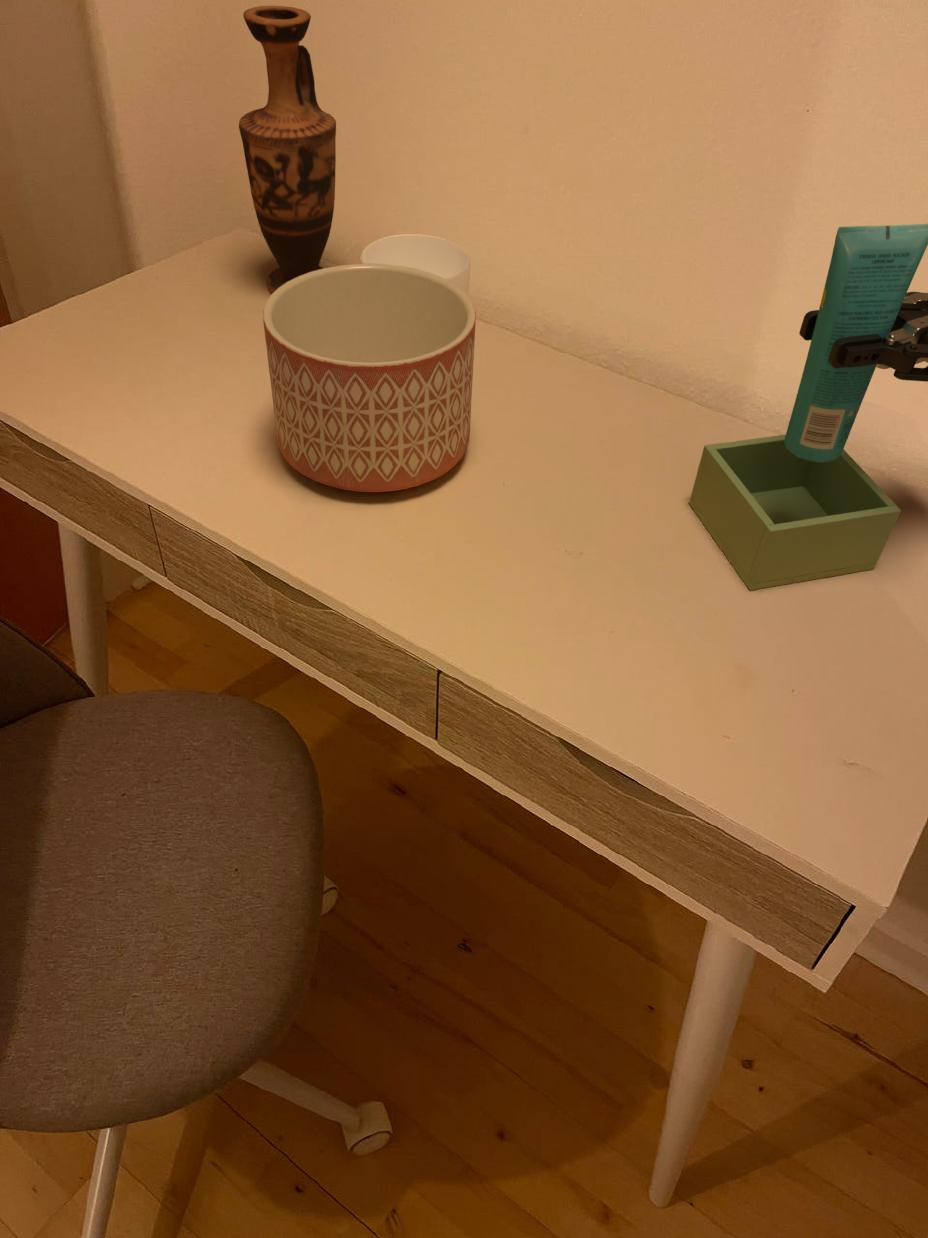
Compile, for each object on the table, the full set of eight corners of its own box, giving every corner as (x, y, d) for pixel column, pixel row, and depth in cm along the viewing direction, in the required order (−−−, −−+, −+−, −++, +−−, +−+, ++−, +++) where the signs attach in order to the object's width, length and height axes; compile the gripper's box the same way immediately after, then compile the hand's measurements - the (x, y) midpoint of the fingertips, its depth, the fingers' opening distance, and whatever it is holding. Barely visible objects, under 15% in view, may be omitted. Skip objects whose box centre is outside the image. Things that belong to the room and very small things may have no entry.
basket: (874, 569, 85) (901, 510, 81) (749, 590, 83) (770, 531, 78) (803, 486, 94) (824, 428, 89) (688, 503, 91) (704, 444, 86)
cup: (470, 338, 112) (475, 238, 104) (459, 390, 104) (464, 286, 95) (373, 329, 113) (370, 229, 104) (354, 380, 104) (350, 276, 96)
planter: (241, 469, 92) (219, 329, 82) (340, 378, 105) (332, 247, 94) (415, 527, 87) (416, 386, 76) (498, 424, 99) (508, 291, 89)
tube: (835, 426, 84) (915, 208, 70) (864, 458, 80) (954, 235, 67) (759, 436, 82) (825, 215, 69) (785, 469, 79) (860, 244, 65)
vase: (308, 315, 114) (286, 32, 93) (240, 291, 118) (203, 13, 97) (361, 282, 121) (351, 11, 100) (294, 260, 125) (271, -6, 103)
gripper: (969, 235, 79) (786, 253, 75) (1089, 316, 69) (886, 340, 66) (934, 318, 84) (762, 339, 81) (1042, 404, 75) (852, 431, 71)
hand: (819, 339), depth 73 cm, fingers closed on tube, 3 cm apart
